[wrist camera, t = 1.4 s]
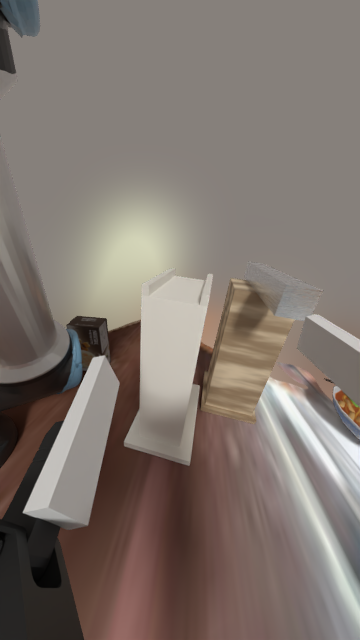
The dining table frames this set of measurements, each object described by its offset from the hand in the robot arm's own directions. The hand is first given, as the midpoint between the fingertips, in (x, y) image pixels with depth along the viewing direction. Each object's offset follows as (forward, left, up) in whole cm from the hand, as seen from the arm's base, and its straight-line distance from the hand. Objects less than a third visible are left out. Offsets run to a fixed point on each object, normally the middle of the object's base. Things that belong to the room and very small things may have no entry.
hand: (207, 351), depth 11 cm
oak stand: (-8, +30, -34) cm, 46 cm away
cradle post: (-15, +13, -34) cm, 39 cm away
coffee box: (-43, +5, -34) cm, 55 cm away
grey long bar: (-7, +27, -1) cm, 28 cm away
